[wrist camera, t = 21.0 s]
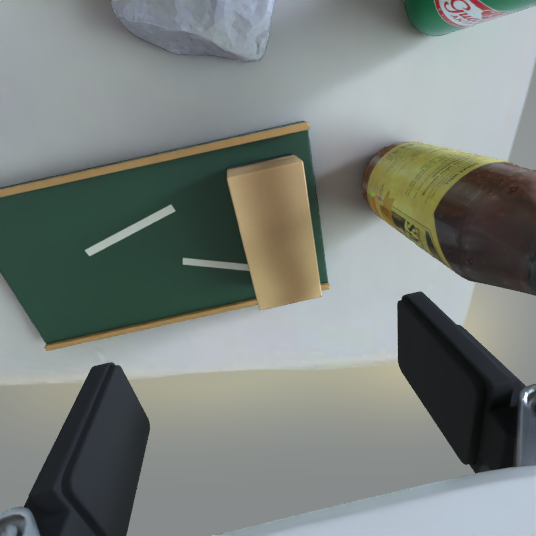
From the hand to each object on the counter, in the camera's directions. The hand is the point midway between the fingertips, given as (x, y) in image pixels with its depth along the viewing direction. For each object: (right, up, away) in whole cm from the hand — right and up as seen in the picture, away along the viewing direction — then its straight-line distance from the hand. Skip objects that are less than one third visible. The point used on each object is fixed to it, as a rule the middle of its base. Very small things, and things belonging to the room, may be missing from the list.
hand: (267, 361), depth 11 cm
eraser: (0, +7, +16) cm, 17 cm away
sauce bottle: (+11, +11, +17) cm, 23 cm away
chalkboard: (-9, +5, +17) cm, 20 cm away
